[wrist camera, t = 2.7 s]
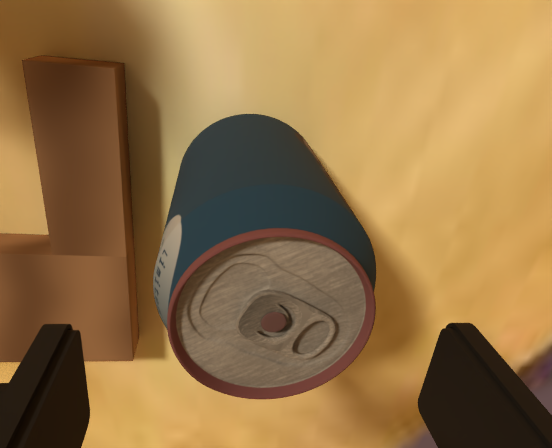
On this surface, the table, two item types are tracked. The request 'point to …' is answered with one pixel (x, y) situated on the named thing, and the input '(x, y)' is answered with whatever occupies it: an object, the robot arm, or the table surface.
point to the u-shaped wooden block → (75, 216)
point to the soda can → (262, 264)
